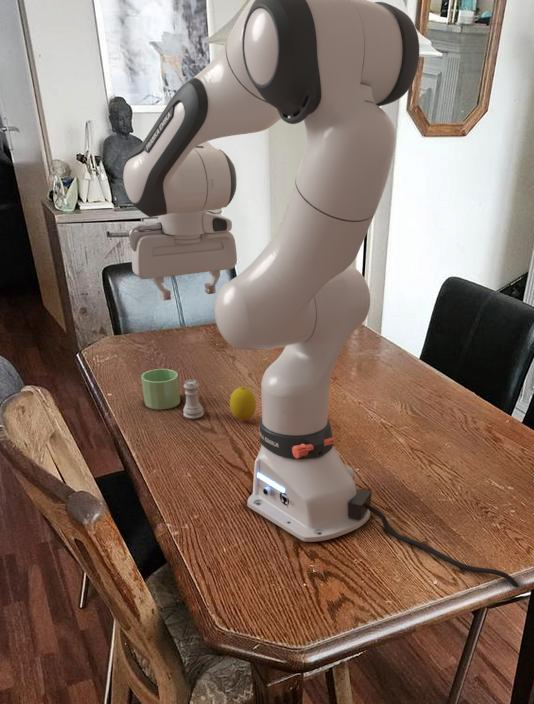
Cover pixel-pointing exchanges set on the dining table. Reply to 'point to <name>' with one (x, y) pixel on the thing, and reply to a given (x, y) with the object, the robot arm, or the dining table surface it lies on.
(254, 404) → the lemon
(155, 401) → the cup
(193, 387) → the rook chess piece
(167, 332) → the dining table surface
